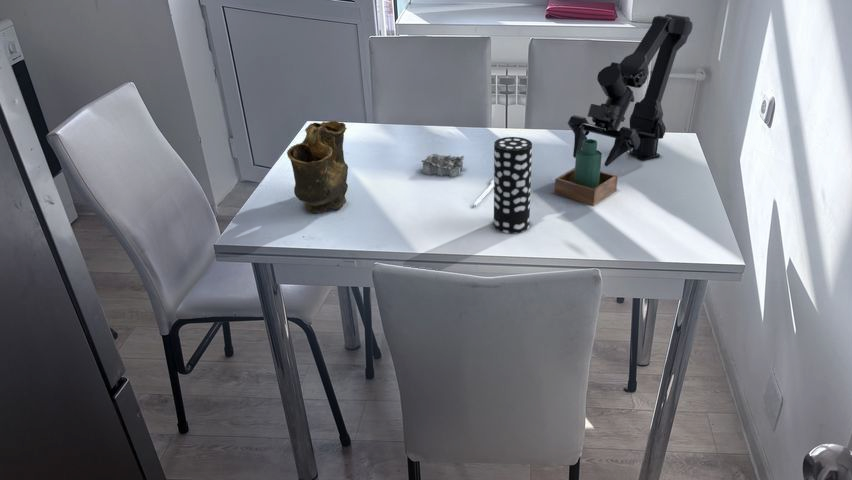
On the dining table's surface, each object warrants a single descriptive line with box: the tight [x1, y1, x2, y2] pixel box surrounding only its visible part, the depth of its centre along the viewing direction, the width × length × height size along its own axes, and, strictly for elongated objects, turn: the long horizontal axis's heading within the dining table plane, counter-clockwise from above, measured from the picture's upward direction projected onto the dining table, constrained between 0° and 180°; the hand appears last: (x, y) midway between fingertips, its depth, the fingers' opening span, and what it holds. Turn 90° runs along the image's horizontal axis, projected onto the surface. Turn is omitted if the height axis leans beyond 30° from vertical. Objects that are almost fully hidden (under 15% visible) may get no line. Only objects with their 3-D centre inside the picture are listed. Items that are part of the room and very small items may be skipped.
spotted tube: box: [493, 136, 533, 234], centre depth 158 cm, size 8×8×20 cm
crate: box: [553, 167, 619, 206], centre depth 179 cm, size 12×12×4 cm
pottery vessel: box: [286, 120, 349, 214], centre depth 167 cm, size 25×11×20 cm, turn 178°
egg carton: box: [421, 153, 465, 178], centre depth 190 cm, size 11×8×4 cm
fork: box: [473, 177, 494, 207], centre depth 179 cm, size 3×20×2 cm, turn 160°
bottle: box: [574, 138, 603, 189], centre depth 176 cm, size 6×6×13 cm
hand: (589, 161), depth 176 cm, fingers open, 9 cm apart
